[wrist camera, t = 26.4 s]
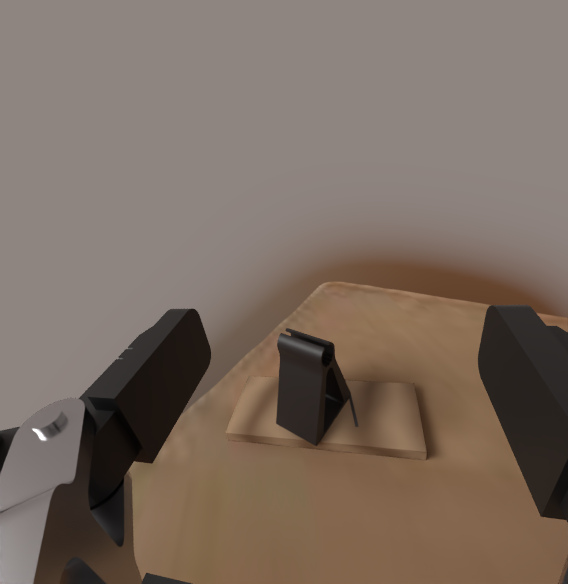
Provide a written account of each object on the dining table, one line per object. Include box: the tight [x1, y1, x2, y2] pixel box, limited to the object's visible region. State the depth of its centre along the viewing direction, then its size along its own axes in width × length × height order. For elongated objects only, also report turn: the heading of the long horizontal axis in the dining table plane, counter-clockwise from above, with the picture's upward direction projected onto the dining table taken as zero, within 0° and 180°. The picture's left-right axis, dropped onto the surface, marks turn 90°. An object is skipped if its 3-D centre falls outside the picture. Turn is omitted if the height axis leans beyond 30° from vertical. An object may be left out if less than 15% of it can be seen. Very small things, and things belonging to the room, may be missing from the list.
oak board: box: [225, 376, 427, 460], centre depth 42 cm, size 24×10×2 cm, turn 78°
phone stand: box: [276, 328, 351, 446], centre depth 39 cm, size 9×6×12 cm, turn 143°
